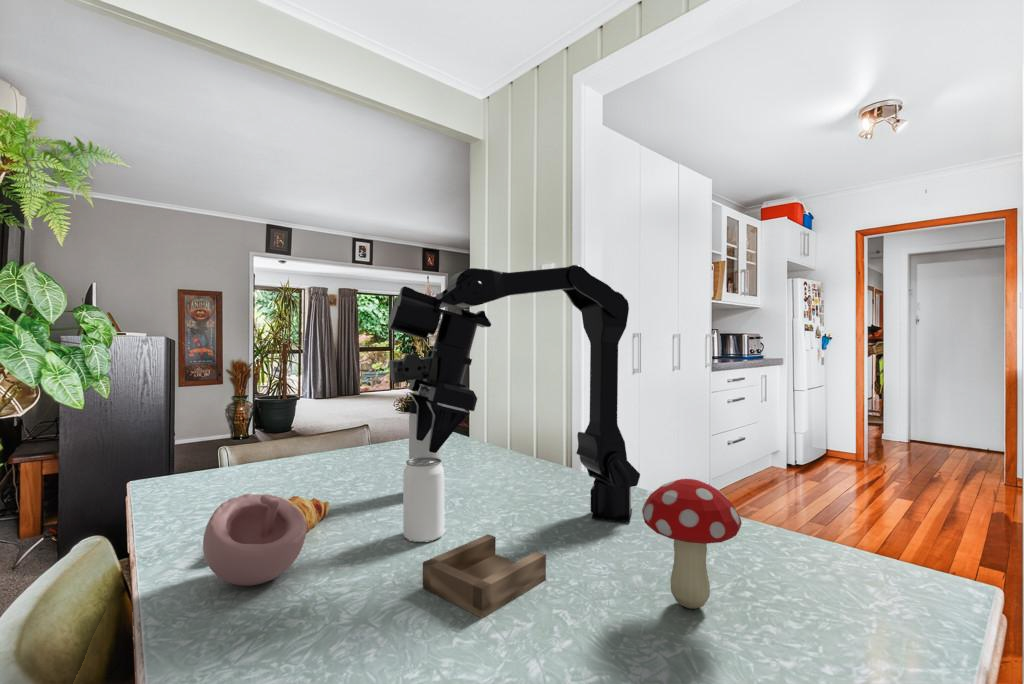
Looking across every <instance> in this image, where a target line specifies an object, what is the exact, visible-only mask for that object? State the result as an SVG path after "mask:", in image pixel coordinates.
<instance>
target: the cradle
mask: <svg viewBox="0 0 1024 684" xmlns="http://www.w3.org/2000/svg"><path fill="white" fill-rule="evenodd" d="M496 540H497V539H496V536H494V535H492V534H485V535H483V536H480V537H478V538H475V539H474V540H471V541H469V542H467V543H464V544H462V545H459V546H458V547H455V548H452V549H450V550H448V551H445V552H444V553H441V554H438V555H435V556H433V557H432V558H429V559H427V560H425V561H423V562H422V589H423V590H425V591H428V592H430V593H432V594H434V595H435V596H438V597H439V598H441V599H443V600H445V601H448V602H449V603H452V604H453V605H456V606H457V607H458V608H462V609H463V610H465V611H467V612H469V613H471V614H474V615H475V616H477V617H478V618H481V619H483V618H485V617H486V616H489V615H490V614H492V613H493V612H495V611H496V610H498V609H500V608H502V607H503V606H505V605H506V604H508V603H510V602H512V601H513V600H515V599H516V598H518V597H520V596H521V595H523V594H525V593H526V592H528V591H530V590H531V589H533V588H534V587H536V586H539V584H541V583H543V582H544V581H546V580H547V554H545V553H542V552H539V551H534V552H533V553H531V554H530V555H527V556H526V557H523V558H521V559H519V560H518V561H514V560H511V559H509V558H507V557H504V556H501V555H499V554H497V552H496V550H497V549H496V546H497V545H496Z"/></svg>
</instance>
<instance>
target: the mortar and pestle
mask: <svg viewBox="0 0 1024 684" xmlns="http://www.w3.org/2000/svg"><path fill="white" fill-rule="evenodd" d="M280 497H281V496H276V495H273V494H268V493H267V494H266V493H263V494H262V493H261V494H252V493H247V494H242V495H240V496H238V497H230V499H228V500H227V501H224V502H222V503H221V504H220V505H219V506H218V507H217V508H216V509H215V510H214V511H213V513H212V515H211V516H210V518H209V520H208V522H207V524H206V527H205V529H204V532H203V539H202V550H203V551H202V552H203V555H204V558H205V561H206V563H207V565H208V568H209V569H210V570H211V571H212V572H213V574H214V575H216V577H218V578H220V579H221V580H223V581H225V582H227V583H229V584H232V585H236V586H245V587H247V586H256V585H261V584H264V583H267V582H269V581H272V580H274V579H276V578H277V577H279V576H280V575H282V574H283V573H285V571H286V570H287V569H289V568H290V567H291V565H292V564H293V563H294V562H295V561H296V560H297V558H298V556H300V553H301V551H302V549H303V547H304V544H305V541H306V535H307V533H308V532H307V526H306V521H305V519H304V516H303V515H302V513H301V512H300V511H299V510H298V509H297V507H295V506H294V505H293V504H291V503H290V502H288V501H287V500H288V499H287V500H285V499H286V498H285V499H283V498H284V497H282V498H280ZM306 532H307V533H306Z"/></svg>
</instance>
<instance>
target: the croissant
mask: <svg viewBox="0 0 1024 684" xmlns="http://www.w3.org/2000/svg"><path fill="white" fill-rule="evenodd" d="M279 497H280V498H283V499H285V500H287V501H288V502H290V503H291V504H293V505H294V506H295V507H297V509H298V510H299V511H300V512H301V513H302V515H303V516H304V519H305V521H306V526H307V532H306V534H307V533H308V532H310V531H311V530H312V529H313V528H314V527H316V526H317V525H318V524H319V523H320V521H321V520H323V519H324V518H325V517H326V516H327V515H329V512H330V510H331V505H330V502H329V501H325V502H324V501H321V499H317V498H312V499H308V498H303V497H301V496H298V495H294V496H292V497H290V498H284V497H282V496H279Z"/></svg>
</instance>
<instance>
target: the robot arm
mask: <svg viewBox="0 0 1024 684" xmlns="http://www.w3.org/2000/svg"><path fill="white" fill-rule="evenodd" d="M560 290H561V291H563V292H564V293H565V294H566V296H567V298H568V299H569V302H570V303H571V304H572V305H573V306H574V307H575V308H576V309H577V310H578V311H579V312H580V313H581V319H582V324H583V329H584V331H585V334H586V336H587V338H588V341H589V343H590V344H589V345H590V352H589V353H590V354H589V355H590V361H589V366H590V367H589V420H588V425H587V427H586V428H585V431H583V432H582V431H578V432H577V435H576V436H577V450H576V453H575V454H576V455H577V456H579V460H580V462H581V465H583V466H584V468H585V469H586V471H587V473H588V476H589V477H591V478H594V480H593V485H592V486H591V488H590V512H591V513H592V514H591V519H592V520H597V521H598V520H599V521H606V522H617V523H626V524H627V523H628V524H630V522H631V519H632V514H633V508H632V488H633V487H637V486H638V484H639V480H640V476H641V473H640V472H639V471H638V470H637V469H636V468H635V467H634V466H633V465H632V464H631V463H630V461H629V460H628V457H627V456H628V455H627V449H626V442H625V441H626V440H624V436H623V435H622V432H621V430H620V427H619V426H618V402H619V400H618V399H619V398H618V395H619V394H618V391H619V390H618V388H619V385H618V384H619V382H618V381H619V379H618V378H619V343H620V340H621V338H622V336H623V334H624V333H625V330H626V329H627V325H628V324H627V323H628V318H629V313H630V312H629V311H630V306H629V301H628V298H626V297H625V296H624V294H622V293H621V292H619V291H615V290H614V289H613V288H612V287H611V286H610V285H608V284H607V283H606V282H603V280H600V279H598V278H597V277H595V276H593V275H592V274H590V273H589V272H588V271H587V269H585V268H584V267H582V266H581V265H578V264H572V265H569V266H566V267H554V268H544V269H534V270H533V269H531V270H524V271H523V270H522V271H511V272H506V271H499V270H494V269H485V268H475V267H474V268H473V267H471V268H468V269H464V270H463V271H461V272H458V273H456V274H454V275H452V276H451V278H450V279H449V280H448V283H447V285H446V289H444V290H443V291H441V292H440V293H437V294H436V295H435V296H433V295H429V294H425V293H423V292H419V291H417V290H415V289H413V288H411V287H408V286H403V287H401V288H400V290H399V294H398V295H397V298H396V301H395V303H394V305H393V307H391V311H390V315H389V319H388V323H387V330H389V331H393V332H398V333H400V334H404V335H407V336H411V337H415V338H417V339H421V340H425V339H427V337H428V336H429V335H432V336H433V335H435V333H436V331H437V333H436V336H435V340H434V344H433V347H432V348H429V349H428V350H427V351H426V355H425V357H419V355H418V353H410V354H408V353H407V354H406V353H405V354H404V355H403V358H401V359H391V360H389V371H390V373H389V374H390V381H391V382H393V383H396V384H397V383H399V384H400V383H405V382H406V381H410V383H409V386H408V390H409V395H410V396H411V398H412V400H413V399H414V401H415V403H416V405H417V421H416V439H417V440H419V441H423V440H424V438H425V437H426V435H427V434H428V432H429V431H430V429H431V434H430V443H429V451H430V452H432V453H436V452H437V451H438V450H439V449H440V450H441V448H442V447H443V445H444V444H445V442H447V440H448V439H449V438H450V436H451V435H453V433H454V431H455V430H456V429H457V428H458V427H459V425H460V424H461V423H462V422H463V421H464V420H465V419H466V418H467V417H468V416H469V415H470V413H471V412H475V410H476V405H477V402H478V397H477V395H476V393H475V392H474V390H472V389H469V388H466V387H465V386H466V384H464V383H463V380H464V377H465V373H466V369H467V366H471V364H472V362H473V358H470V354H471V350H472V346H473V344H474V343H473V342H474V340H475V335H476V331H477V328H478V327H479V328H490V327H492V323H491V321H490V320H489V318H488V317H487V315H486V311H485V310H479V311H477V312H473V311H470V310H466V309H462V308H469V307H471V308H472V307H476V306H480V305H483V304H487V303H490V302H494V301H496V300H499V299H502V298H505V297H509V296H510V297H511V296H516V295H519V296H520V295H527V294H534V293H535V294H536V293H543V292H552V291H554V292H555V291H560ZM453 306H456V307H458V309H457V310H456V312H452V311H449V310H446V309H444V308H449V307H453ZM437 329H438V330H437ZM410 391H411V392H410ZM469 411H471V412H469Z"/></svg>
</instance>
